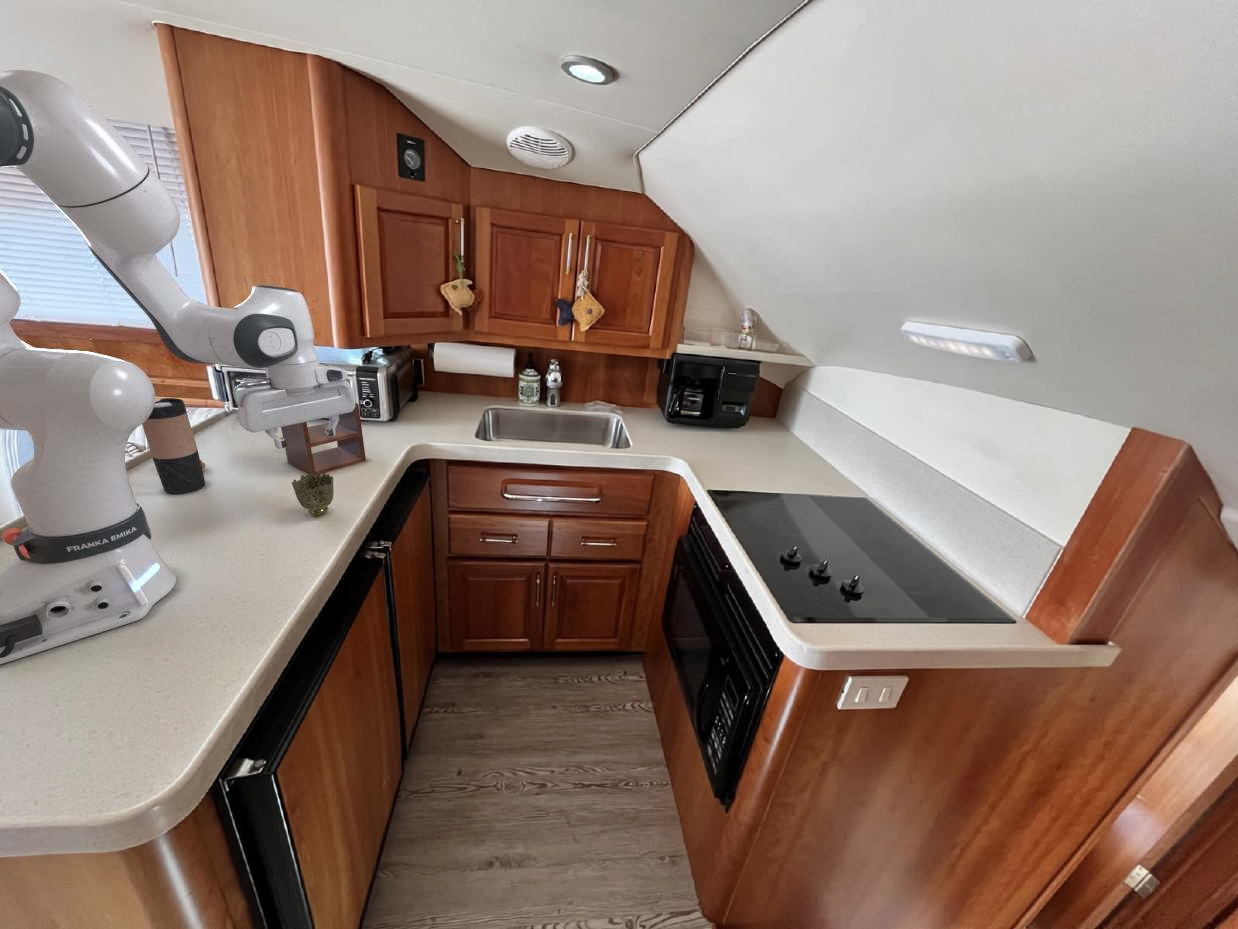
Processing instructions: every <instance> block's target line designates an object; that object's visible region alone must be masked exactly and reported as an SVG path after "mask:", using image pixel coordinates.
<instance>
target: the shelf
mask: <svg viewBox="0 0 1238 929" xmlns="http://www.w3.org/2000/svg"><path fill="white" fill-rule="evenodd" d="M328 423H329V422H324V423H321V424H315V425H311V426H308V421H307V422H302V423H298V424H293V425H288V426H284V427H280V430H281V434H282V435H281V436H282V438H283V439H286V441H287V443H286V444H287V447H286V448H284V450H285V455H286V460H287V463H288V465H290V466H293V467H294V468H296V469H298V470H300V471H302V472H303V473H305V474H306V475H307V474H309V473H312V474H314V475H316V474H317V473H320V475H322V474H323V473H325V474H326V473H329V472H333V471H336V470H340V469H343V468H346V467H350V466H353V465H357V464H360V463H363V462H367V457H366V450H365V443H364V442H365V441H364V436H363V435H364V434H363V428H362V421H361V413H360V404H359V403H357V402H355V408H354V410H353V411H352V412H349V413H344V414H340V415H339V421H338V424H337V426H336V428H335V431H336V435H335V436H331V437H328V436H325V433H324V432H325V431H324V427H327V426H328ZM334 442H336V444H337V445H336V447H333V448H330V449H329V448H328V449H325V450H320V451H317V452H313V450H312V448H314V447H318V446H323V445H327V444H330V443H334ZM316 476H317V475H316Z"/></svg>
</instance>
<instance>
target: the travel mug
mask: <svg viewBox="0 0 1238 929" xmlns="http://www.w3.org/2000/svg"><path fill="white" fill-rule="evenodd" d="M141 426H142V429H143V433H144V436H145V439H146V442H147V445H148V448H149V449H148V450H149V452H150V455H151V458H152V461H153V464H154V466H155V469H156V471H157V475H158V477H159V480H160V483H161V485H162V488H163V490H164V492H165V494H167V495H175V496H177V495H186V494H191V493H194V492H197V491H199V490H201V489H203V488H204V487H205V486H206V480H205V479H206V478H205V476H204V470H202V466H201V462H200V460H201V458H200V454H199V450H198V446H197V442H196V439H195V436H194V432H193V429H192V426H191V423H190V419H189V414H188V411H187V408H186V405H185V401H184V400H183V399H181V398H175V397H164V398H161V399H159V400H158V401H157V400H156V401H155V404H154V408H153V410H152V412H151V414H150V416H149V417H148V418H147V420H146V421H145V422H144V423H143V424H141Z"/></svg>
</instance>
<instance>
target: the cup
mask: <svg viewBox="0 0 1238 929" xmlns="http://www.w3.org/2000/svg"><path fill="white" fill-rule="evenodd" d="M299 479H300V480H299ZM299 479H298V480H296V479H293V481H291V485H292V488H293V491H294V495H295V496H296V497H295V498H296V499H297V501H298V503H299V505H300V506H301V507H302V508H304V509H306V510H307V511H308V512H307V513H308V514H309V515H310V516H314V517H318V516H322V515H325V514H326V513H327V512H329V511H328V510H329V506H330V505H331V504H332V502H333V500H334V493H335V492H334V477H333V475H331V476H330V474H329V473H327V474H326V473H322V474H320V473H317V474H316V475H314V474H312V473H309V474H307V473H306V475H304V474H300V478H299Z"/></svg>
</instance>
